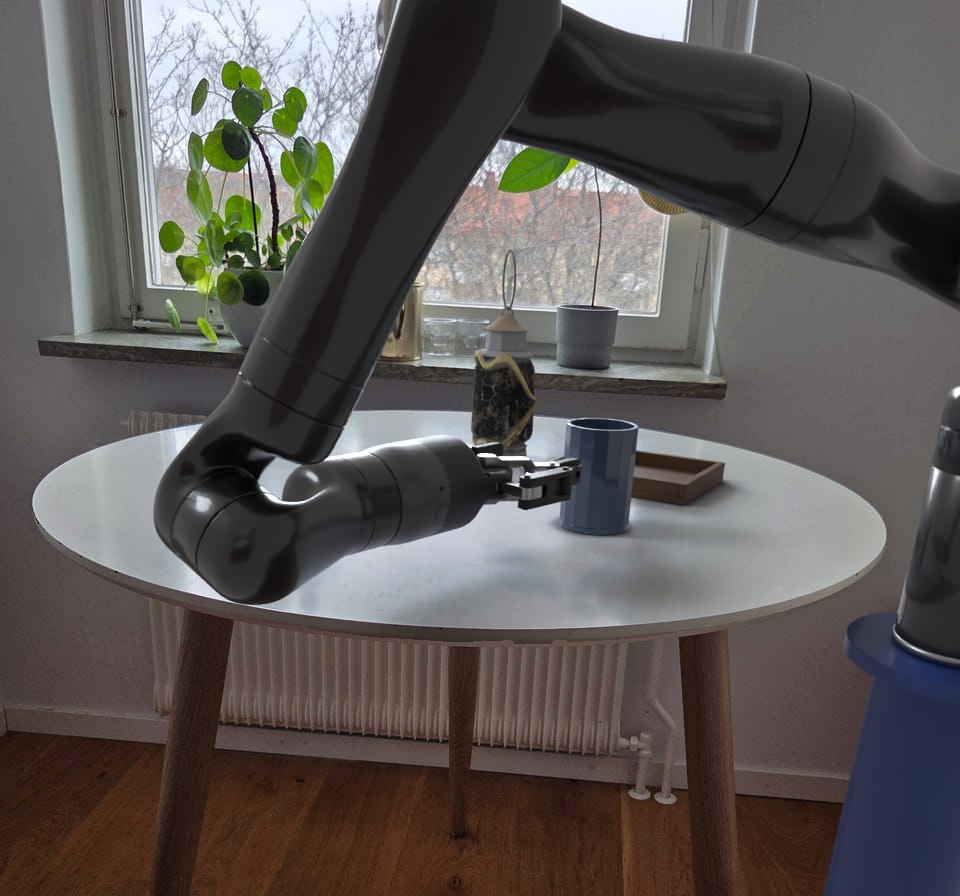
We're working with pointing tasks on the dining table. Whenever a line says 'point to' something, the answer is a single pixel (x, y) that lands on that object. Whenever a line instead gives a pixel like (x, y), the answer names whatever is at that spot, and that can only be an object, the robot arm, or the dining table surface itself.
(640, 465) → the tray
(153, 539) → the dining table surface
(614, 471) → the cup
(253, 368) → the robot arm
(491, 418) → the lantern
